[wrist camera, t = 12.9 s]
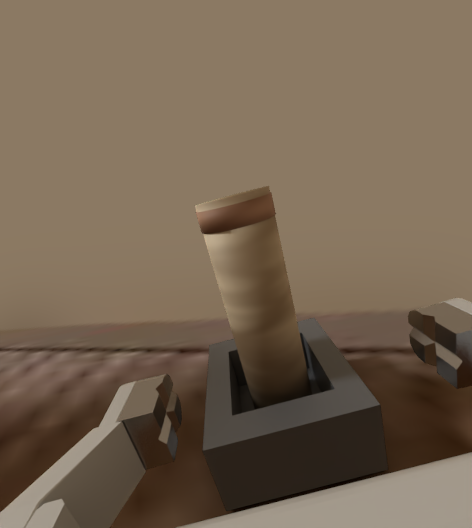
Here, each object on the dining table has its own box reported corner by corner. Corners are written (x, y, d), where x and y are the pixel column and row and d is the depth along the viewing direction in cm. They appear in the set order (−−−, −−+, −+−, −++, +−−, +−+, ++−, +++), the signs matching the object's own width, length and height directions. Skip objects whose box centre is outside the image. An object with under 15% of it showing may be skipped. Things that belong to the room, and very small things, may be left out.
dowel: (260, 442, 14) (189, 208, 10) (252, 391, 17) (197, 204, 14) (325, 425, 14) (277, 184, 10) (304, 378, 17) (262, 186, 14)
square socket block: (226, 510, 12) (202, 450, 11) (223, 387, 20) (209, 345, 19) (388, 469, 12) (380, 404, 11) (322, 362, 20) (314, 317, 19)
